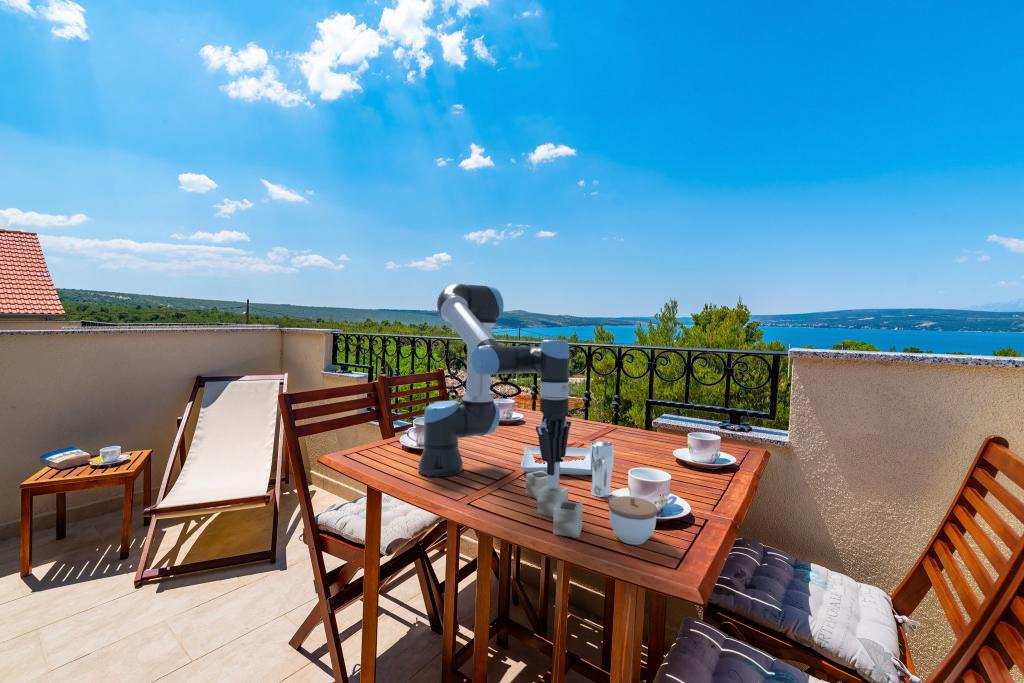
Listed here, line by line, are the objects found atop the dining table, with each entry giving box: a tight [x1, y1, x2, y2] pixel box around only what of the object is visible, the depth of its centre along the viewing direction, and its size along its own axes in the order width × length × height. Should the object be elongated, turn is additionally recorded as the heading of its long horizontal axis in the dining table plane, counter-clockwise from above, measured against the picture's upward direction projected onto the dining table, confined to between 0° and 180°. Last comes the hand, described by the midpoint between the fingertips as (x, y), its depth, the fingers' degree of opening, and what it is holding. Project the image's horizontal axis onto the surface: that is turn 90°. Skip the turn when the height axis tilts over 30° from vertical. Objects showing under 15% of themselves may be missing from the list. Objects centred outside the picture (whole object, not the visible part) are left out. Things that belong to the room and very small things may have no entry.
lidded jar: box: [608, 495, 658, 546], centre depth 94 cm, size 11×11×9 cm
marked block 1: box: [525, 471, 548, 501], centre depth 120 cm, size 6×6×6 cm
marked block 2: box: [552, 500, 583, 539], centre depth 98 cm, size 6×6×6 cm
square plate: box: [520, 446, 592, 476], centre depth 148 cm, size 27×27×4 cm
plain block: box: [536, 484, 569, 518], centre depth 108 cm, size 6×6×6 cm
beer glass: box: [589, 440, 615, 498], centre depth 121 cm, size 7×7×15 cm
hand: (553, 486), depth 108 cm, fingers closed
